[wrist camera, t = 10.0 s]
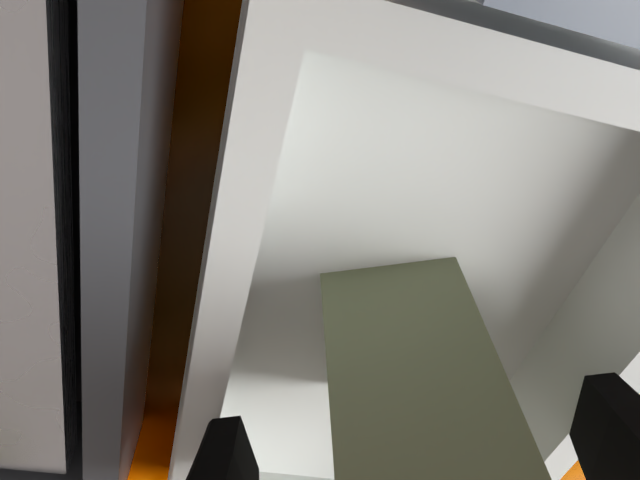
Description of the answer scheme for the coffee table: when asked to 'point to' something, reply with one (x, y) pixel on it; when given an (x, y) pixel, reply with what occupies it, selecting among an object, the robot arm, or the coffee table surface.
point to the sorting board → (419, 202)
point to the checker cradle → (116, 217)
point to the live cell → (418, 380)
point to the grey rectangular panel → (36, 239)
